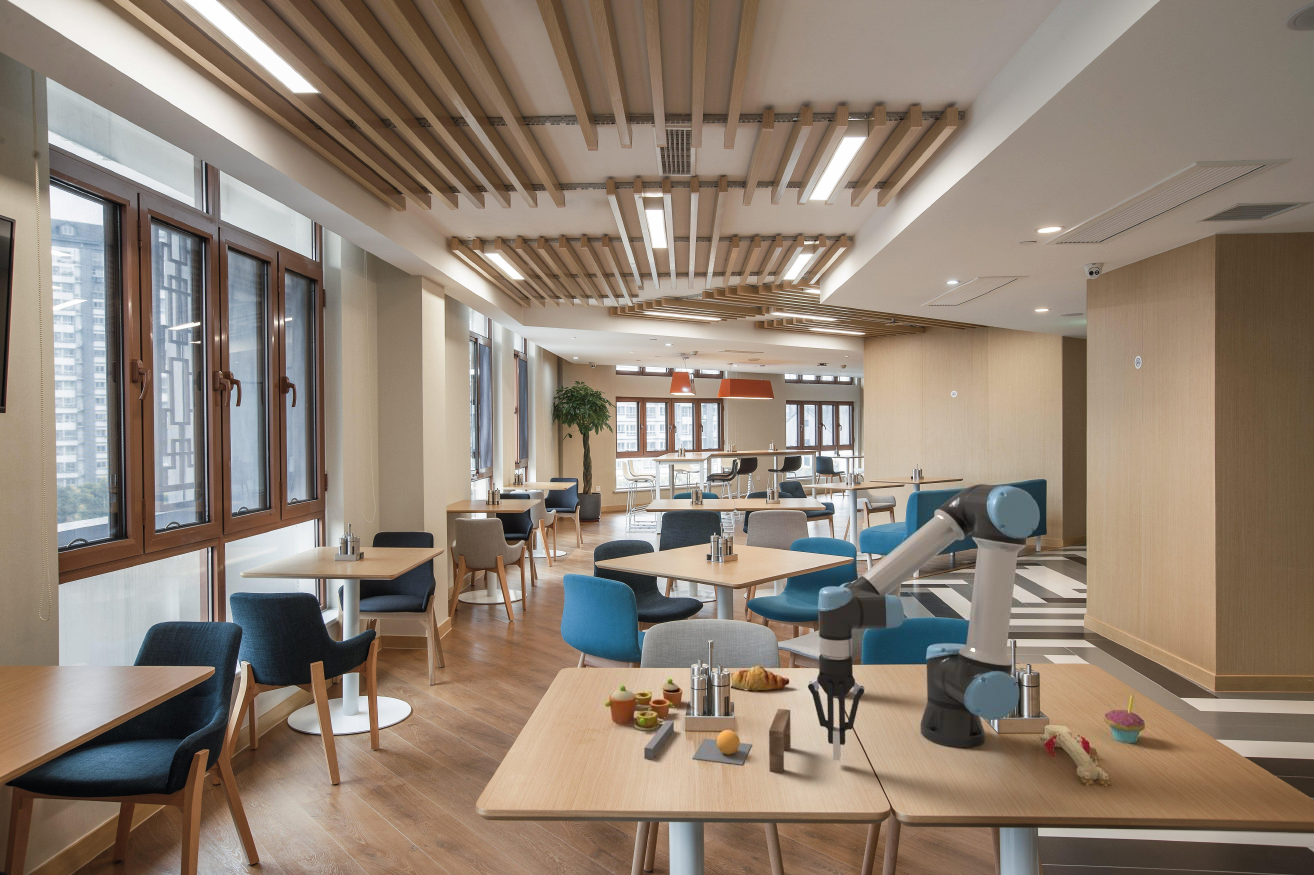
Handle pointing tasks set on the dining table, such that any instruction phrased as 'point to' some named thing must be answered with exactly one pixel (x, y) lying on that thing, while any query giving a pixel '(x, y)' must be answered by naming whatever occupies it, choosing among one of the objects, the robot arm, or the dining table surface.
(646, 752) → the stopper
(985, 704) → the robot arm
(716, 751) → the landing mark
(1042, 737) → the bone
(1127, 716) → the cupcake
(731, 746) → the ball
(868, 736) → the dining table surface
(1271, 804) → the dining table surface
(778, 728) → the bridge
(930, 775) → the dining table surface
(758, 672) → the croissant
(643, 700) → the toy tea set
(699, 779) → the dining table surface
